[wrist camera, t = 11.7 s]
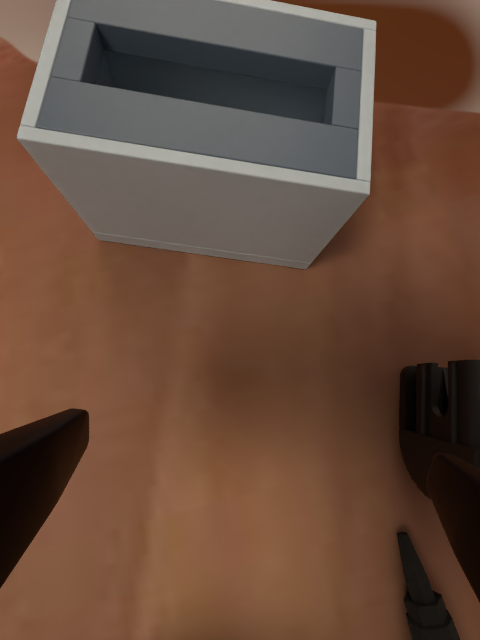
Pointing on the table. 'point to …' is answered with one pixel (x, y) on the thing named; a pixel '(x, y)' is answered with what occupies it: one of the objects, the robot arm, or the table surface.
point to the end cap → (439, 415)
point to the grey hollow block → (206, 123)
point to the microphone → (423, 599)
